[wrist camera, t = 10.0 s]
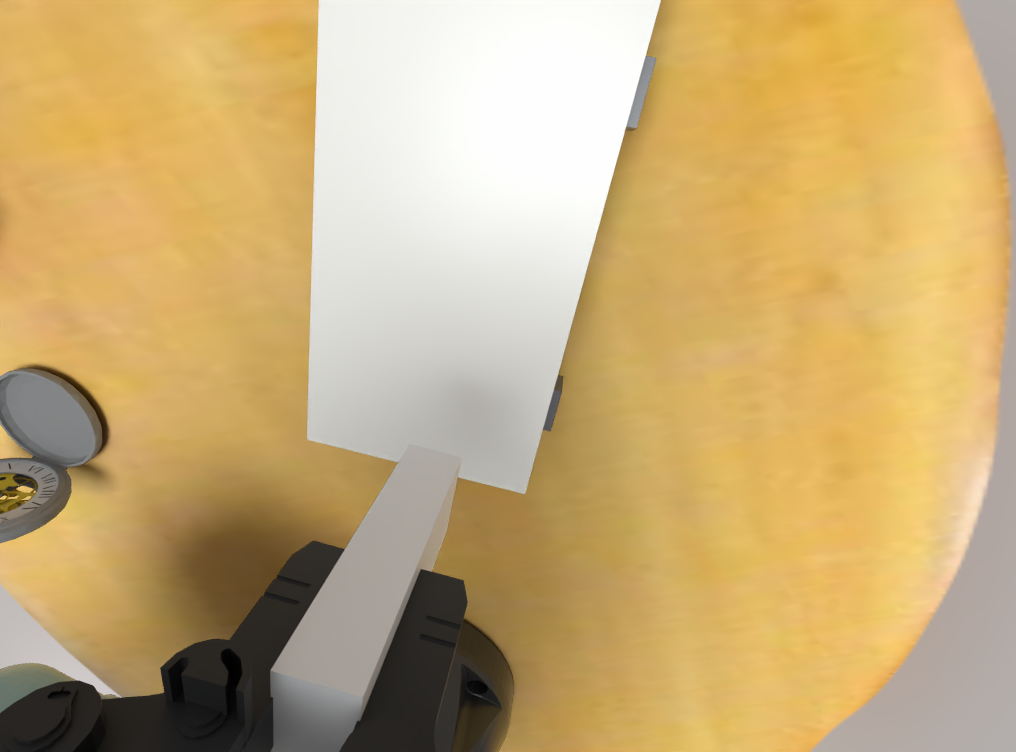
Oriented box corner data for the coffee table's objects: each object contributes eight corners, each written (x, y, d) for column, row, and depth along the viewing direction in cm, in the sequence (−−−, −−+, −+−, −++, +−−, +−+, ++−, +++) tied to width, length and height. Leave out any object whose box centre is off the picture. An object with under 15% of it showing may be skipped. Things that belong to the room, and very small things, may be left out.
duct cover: (526, 483, 22) (524, 494, 22) (315, 430, 23) (306, 439, 22) (677, -67, 14) (682, -79, 13) (335, -138, 14) (323, -154, 13)
